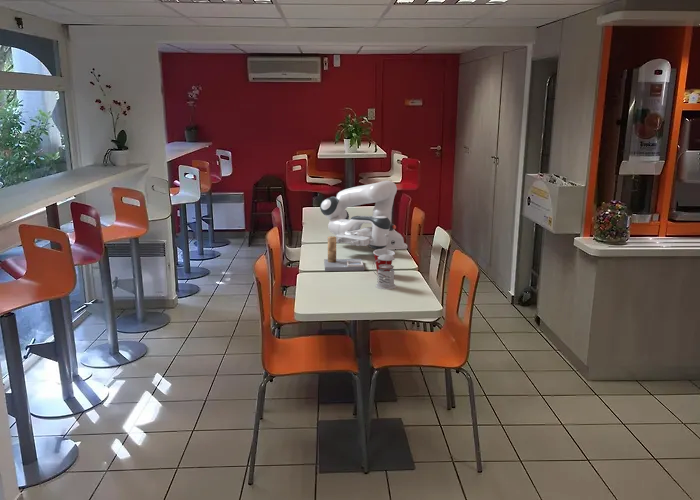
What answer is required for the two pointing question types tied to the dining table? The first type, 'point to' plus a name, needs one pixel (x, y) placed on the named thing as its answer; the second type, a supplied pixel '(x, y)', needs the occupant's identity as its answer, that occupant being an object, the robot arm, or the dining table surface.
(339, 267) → the board
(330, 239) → the oak column
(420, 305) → the dining table surface
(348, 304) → the dining table surface
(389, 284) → the french press
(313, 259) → the dining table surface
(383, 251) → the plastic cup
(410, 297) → the dining table surface
